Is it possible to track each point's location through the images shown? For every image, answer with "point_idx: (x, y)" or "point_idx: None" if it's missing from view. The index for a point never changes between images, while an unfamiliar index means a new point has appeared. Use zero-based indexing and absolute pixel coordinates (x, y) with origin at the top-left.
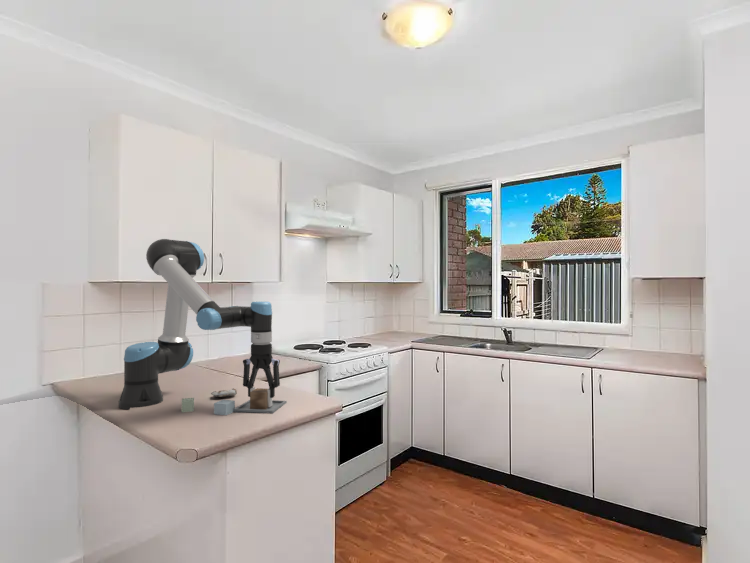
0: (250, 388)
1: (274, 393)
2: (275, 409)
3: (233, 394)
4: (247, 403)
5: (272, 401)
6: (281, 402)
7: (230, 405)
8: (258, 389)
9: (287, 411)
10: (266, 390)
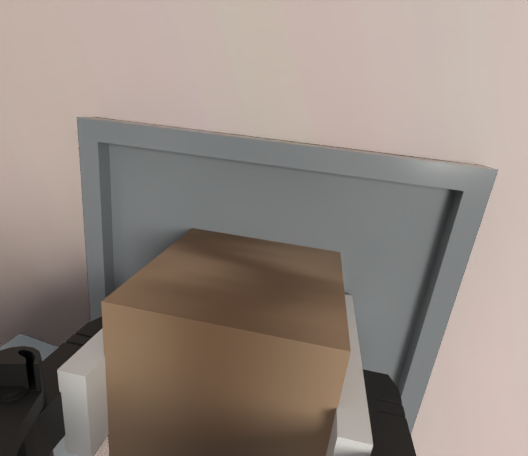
0: (58, 432)
1: (402, 413)
2: (410, 428)
3: None
4: (109, 227)
5: (324, 170)
6: (429, 184)
7: (63, 445)
8: (153, 373)
9: (508, 396)
10: (286, 433)
